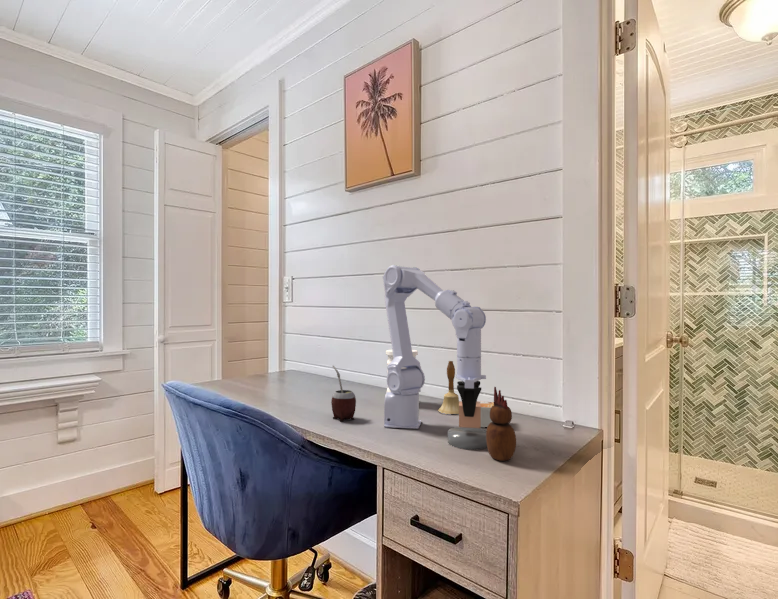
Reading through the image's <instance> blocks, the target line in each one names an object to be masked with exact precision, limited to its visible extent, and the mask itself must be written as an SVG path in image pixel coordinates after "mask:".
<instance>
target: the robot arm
mask: <svg viewBox="0 0 778 599" xmlns="http://www.w3.org/2000/svg"><path fill="white" fill-rule="evenodd" d="M382 279H383V280H382V281H383V287H384V303H385V309H386V317H387V318H386V319H387V322H388V331H389V337H390V344H391V349H392V351H393V358H394V359H393V360H392V362H391V363H390V364H389V365H387V366H386V368H387V370H388V374H387V376H386V385H387V388H388V387H389V389H390V390H391V392H387V391H386V393H385V395H384V404H383V405H384V406H383V408H384V411H383V412H384V413H383V414H384V415H383V423H384V425H383V427H384V428H395V429H397V428H399V429H415V430H418V429H419V428H420V426H421V423H422V420H421V419H419V416H420V411H419V410H420V408H419V407H420V406H419V404H420V400H419V399H420V394H419V393H420V392H421V391H422V388H423V386H425V381H426V378H425V373H424V371H423V370H422V366H421V362H420V361H419V359H417V357H416V358H414V357H413V354H412V350H413V348H412V347H413V346H412V342H411V337H410V329H409V328H410V327H409V323H408V316H407V310H406V305H405V303H406V302H405V301H406V300H407V298H409V297H410V296H411V295H412V294H414V292H415V291H416V290H419V291H420V292H422V294H425V295H426V296H428V297H429V298H430V299H432V300H433V301H434V304H435V307H436V309H437V310H438V311H440V312H441V313H442V314H443V315H445V316H446V317H447V318H449V319H450V321H451V323H452V326H453V327H454V329H455V330H454V331H455V336H456V374H455V378H456V379H457V380H458V381H457V382H456V383H457V385H456V390H457V391H458V393H459V396H460V397H459V398H460V400H461V401H462V406H463V412H464V416H465V417H474V413H475V408H476V402H477V401H478V398H479V395H480V394H481V392H482V390H483V389H482V386H481V381H480V380H486V379H487V375H485V374H482V329H483V328H484V326H485V325H486V321H487V319H486V318H487V316H486V313H485V312H484V311H483V309H482V308H481V307H480V306H471V305H470V304H471V303H470V302H469V301H468V300H464V299H462V298H461V297H460V296H459V295H457V294H458V292H457V291H456V290H455V289H454V290H452V289H445V290H444V289H442V288H441V287H440V286H439V285H438V284H436V283H435V282H434V281H433V280H432V279H431V278H429V277H428V276H427V274H426V273H425V271H423V270H421V269H420V268H419V267H415V266H413V267H412V266H411V267H410V266H404V265H403V266H401V265H396V264H391V265H389V266H388V267H387V268H386V270H385V271H384V274H383V276H382ZM402 367H406V369H401V368H402ZM387 370H386V371H387ZM480 386H481V387H480Z"/></svg>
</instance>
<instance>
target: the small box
mask: <svg viewBox="0 0 778 599" xmlns="http://www.w3.org/2000/svg"><path fill="white" fill-rule="evenodd" d="M477 402H480V406H481V428H485V427H488V425H489V424H490V423H491V422H492V421H491V419H490V409H491V407H492V406H494V401H492V402H491V401H481V400H480V401H478V400H477Z"/></svg>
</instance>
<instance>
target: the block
mask: <svg viewBox="0 0 778 599" xmlns="http://www.w3.org/2000/svg"><path fill="white" fill-rule="evenodd" d="M480 402H481V401H480ZM480 402H476V408H475V413H474V417H465V416H464V412H463V406H462V400H461V401H460V400H459V415H458V427H466V428H481V429H482V427H481V406H480Z"/></svg>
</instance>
